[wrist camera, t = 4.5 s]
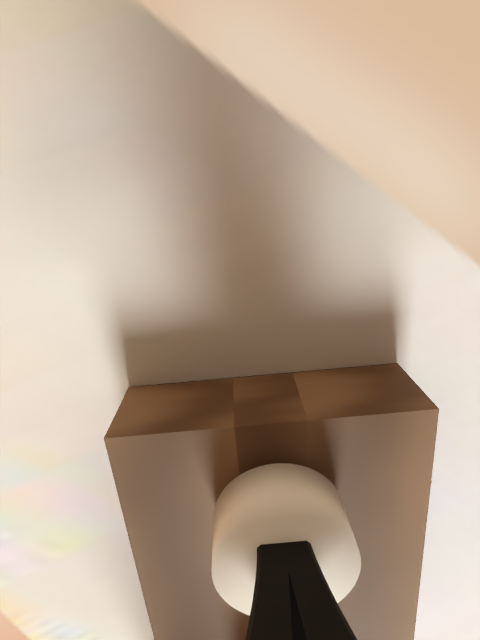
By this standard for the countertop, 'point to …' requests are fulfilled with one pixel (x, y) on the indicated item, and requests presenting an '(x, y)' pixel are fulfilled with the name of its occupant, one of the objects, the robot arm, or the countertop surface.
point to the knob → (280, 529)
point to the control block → (269, 448)
